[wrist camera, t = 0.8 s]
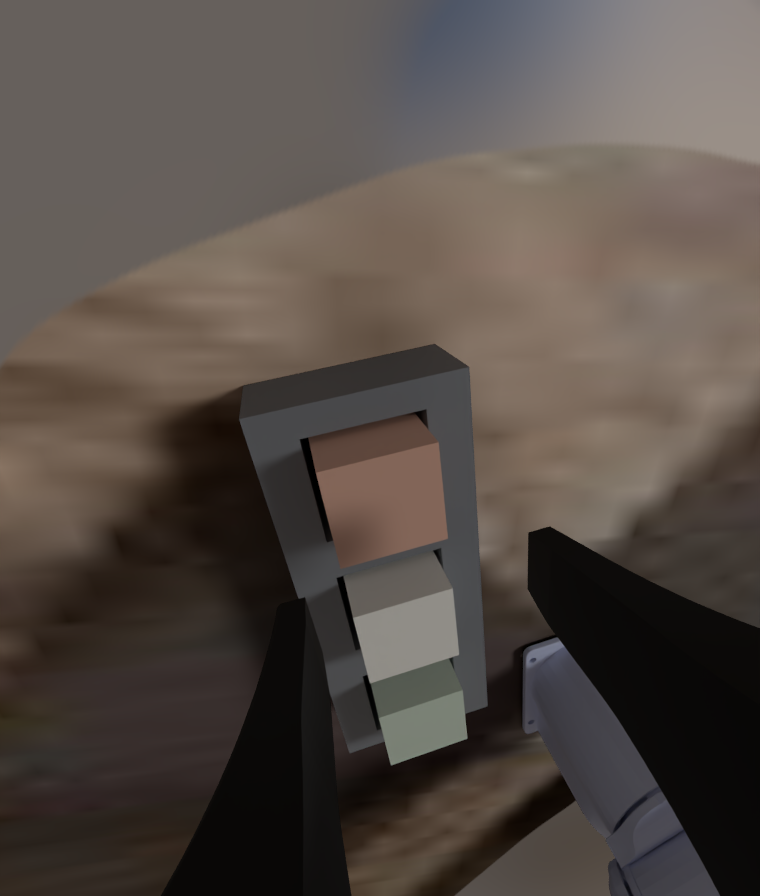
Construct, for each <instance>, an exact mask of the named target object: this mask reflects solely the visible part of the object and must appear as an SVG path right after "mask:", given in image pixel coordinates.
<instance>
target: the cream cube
mask: <svg viewBox="0 0 760 896" xmlns="http://www.w3.org/2000/svg"><path fill="white" fill-rule="evenodd" d="M344 581H345V585H346V589H347V594H348V598H349V602H350V607H351V611H352V615H353V619H354V623H355V627H356V631H357V635H358V639H359V643H360V647H361V651H362V654H363V658H364V662H365V666H366V670H367V674H368V678H369V682H370V683H373V682H376V681H379V680H383V679H386V678H389V677H392V676H395V675H398V674H401V673H404V672H407V671H411V670H414V669H417V668H420V667H423V666H426V665H429V664H432V663H435V662H438V661H442V660H445V659H448V658H451V657H454V656H457V655H459V647H458V637H457V626H456V616H455V606H454V596H453V588H452V586H451V584H450V582H449V580H448V578H447V576H446V574H445V573H444V571H443V569H442V567H441V565H440V563H439V561H438V559H437V557H436V555H435V554H434V552H433V550H432V551H429V552H425V553H422V554H418V555H415V556H411V557H408V558H404V559H401V560H397V561H394V562H390V563H387V564H383V565H380V566H376V567H373V568H369V569H366V570H362V571H359V572H355V573H352V574H348V575H345V576H344Z"/></svg>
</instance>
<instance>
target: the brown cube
mask: <svg viewBox="0 0 760 896" xmlns="http://www.w3.org/2000/svg"><path fill="white" fill-rule="evenodd" d="M308 439H309V443H310V448H311V453H312V457H313V462H314V467H315V471H316V475H317V479H318V483H319V487H320V491H321V495H322V499H323V503H324V506H325V510H326V514H327V518H328V522H329V526H330V530H331V534H332V538H333V542H334V545H335V549H336V553H337V557H338V561H339V565H340V569H343V568H346V567H350V566H353V565H357V564H360V563H364V562H367V561H371V560H374V559H378V558H382V557H385V556H389V555H392V554H396V553H399V552H403V551H406V550H410V549H413V548H417V547H420V546H424V545H428V544H431V543H435V542H438V541H442V540H445V539H448V534H447V523H446V513H445V503H444V492H443V482H442V472H441V462H440V451H439V442H438V441H437V440H436V438H435V437H434V436H433V435H432V434H431V432H430V431H429V430H428V429H427V427H426V426H425V425H424V424H423V423H422V421H421V420H420V419H419V418H418V416H417V415H416V414H415V413H414V412H413V413H408V414H404V415H400V416H396V417H392V418H387V419H383V420H379V421H375V422H371V423H366V424H362V425H358V426H354V427H350V428H345V429H341V430H337V431H333V432H329V433H324V434H320V435H316V436H312V437H308Z"/></svg>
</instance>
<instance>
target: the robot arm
mask: <svg viewBox="0 0 760 896" xmlns="http://www.w3.org/2000/svg"><path fill="white" fill-rule="evenodd" d="M528 590H529V592H530V594H531V596H532V597H533V599H534V601H535V603H536V605H537V606H538V608H539V610H540V612H541V613H542V615H543V617H544V618H545V620H546V622H547V623H548V625H549V626H550V628H551V629H552V630H553V632H554V633H555V634H556V636H557V637H556V638H553V639H550V640H547V641H544V642H541V643H538V644H535V645H532V646H529V647H527V648H526V649H525V650H524V652H523V721H522V728H523V730H524V732H525V733H526V734H530V733H533V732H536V731H538V732H539V733H540V735H541V737H542V739H543V741H544V743H545V744H546V746H547V748H548V750H549V752H550V754H551V755H552V757H553V759H554V761H555V763H556V765H557V766H558V768H559V770H560V772H561V774H562V776H563V777H564V779H565V781H566V783H567V785H568V787H569V788H570V790H571V792H572V794H573V796H574V797H575V799H576V801H577V803H578V805H579V807H580V808H581V810H582V812H583V814H584V815H585V817H586V818H587V820H588V821H589V822H590V824H591V825H592V826H593V827H594V828H595V829H596V830H597V831H598V832H599V833H600V834H601V835H603V836H604V837H605V838H606V842H607V844H608V846H609V847H610V849H611V851H612V853H613V855H614V856H615V859H613V860H612V861H610V862H609V865H608V872H609V890H610V894H611V896H760V628H757V627H755V626H752V625H749V624H747V623H744V622H741V621H739V620H736V619H734V618H731V617H729V616H726V615H724V614H721V613H719V612H717V611H714V610H712V609H709V608H707V607H705V606H702V605H700V604H697V603H695V602H693V601H691V600H688V599H686V598H684V597H682V596H680V595H678V594H675V593H673V592H671V591H669V590H667V589H665V588H663V587H661V586H659V585H657V584H655V583H652V582H650V581H649V580H647V579H645V578H643V577H641V576H639V575H637V574H635V573H633V572H631V571H629V570H627V569H625V568H623V567H622V566H620V565H618V564H616V563H614V562H612V561H610V560H609V559H607V558H605V557H603V556H601V555H600V554H598V553H596V552H594V551H592V550H591V549H589V548H587V547H585V546H584V545H582V544H580V543H578V542H577V541H575V540H573V539H571V538H570V537H568V536H566V535H564V534H562V533H561V532H559V531H557V530H555V529H553V528H551V527H546V528H543V529H539V530H536V531H533V532H529V534H528ZM161 896H351V890H350V884H349V877H348V871H347V864H346V858H345V851H344V845H343V838H342V831H341V825H340V817H339V808H338V798H337V785H336V771H335V757H334V743H333V729H332V716H331V703H330V692H329V686H328V680H327V674H326V668H325V663H324V657H323V651H322V648H321V645H320V642H319V639H318V636H317V633H316V630H315V627H314V623H313V620H312V617H311V614H310V611H309V608H308V605H307V602H306V599H305V597H303V598H300V599H296V600H293V601H290V602H286V603H283V604H280V605H279V607H278V608H277V612H276V618H275V623H274V627H273V632H272V636H271V640H270V644H269V648H268V651H267V655H266V659H265V662H264V665H263V668H262V672H261V675H260V678H259V681H258V684H257V688H256V691H255V694H254V697H253V699H252V702H251V705H250V708H249V710H248V713H247V716H246V718H245V721H244V724H243V727H242V729H241V732H240V735H239V737H238V740H237V742H236V745H235V747H234V749H233V752H232V754H231V757H230V759H229V761H228V764H227V766H226V768H225V771H224V773H223V775H222V777H221V780H220V782H219V784H218V786H217V788H216V791H215V793H214V795H213V797H212V799H211V801H210V803H209V805H208V807H207V809H206V811H205V813H204V815H203V818H202V820H201V822H200V824H199V826H198V828H197V830H196V832H195V834H194V836H193V838H192V840H191V842H190V844H189V846H188V847H187V849H186V851H185V853H184V855H183V857H182V859H181V861H180V862H179V864H178V866H177V868H176V870H175V871H174V873H173V875H172V877H171V879H170V880H169V882H168V884H167V886H166V888H165V889H164V891H163V893H162V895H161Z"/></svg>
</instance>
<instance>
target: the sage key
mask: <svg viewBox="0 0 760 896" xmlns="http://www.w3.org/2000/svg"><path fill="white" fill-rule="evenodd" d="M371 687H372V691H373V696H374V700H375V704H376V708H377V712H378V717H379V721H380V725H381V728H382V732H383V736H384V740H385V744H386V748H387V752H388V756H389V760H390V764H391V765H394V764H397V763H400V762H402V761H405V760H408V759H411V758H414V757H417V756H420V755H422V754H425V753H428V752H431V751H434V750H437V749H439V748H442V747H445V746H448V745H451V744H454V743H457V742H459V741H462V740H465V739H467V730H466V719H465V709H464V699H463V690H462V687H461V685H460V683H459V680H458V678H457V676H456V673H455V671H454V669H453V667H452V664H451V662H450V660H449V658H448V659H445V660H442V661H438V662H435V663H432V664H429V665H426V666H423V667H420V668H417V669H414V670H411V671H407V672H404V673H401V674H398V675H395V676H392V677H389V678H386V679H383V680H379V681H376V682H373V683H371Z"/></svg>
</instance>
